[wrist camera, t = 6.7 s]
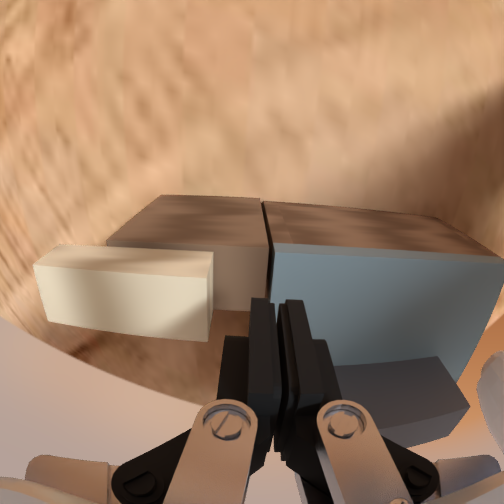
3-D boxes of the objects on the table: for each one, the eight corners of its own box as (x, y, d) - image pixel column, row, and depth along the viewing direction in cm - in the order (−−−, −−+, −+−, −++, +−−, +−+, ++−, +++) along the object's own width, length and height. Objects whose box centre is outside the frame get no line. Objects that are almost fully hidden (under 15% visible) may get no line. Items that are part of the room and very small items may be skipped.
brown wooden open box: (437, 215, 24) (511, 261, 14) (399, 342, 29) (438, 410, 19) (161, 194, 23) (106, 240, 13) (170, 340, 28) (146, 422, 19)
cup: (427, 345, 29) (510, 486, 10) (412, 306, 27) (521, 470, 8) (473, 310, 28) (571, 430, 9) (464, 267, 26) (593, 396, 6)
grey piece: (491, 251, 16) (557, 300, 10) (429, 393, 22) (460, 451, 15) (271, 235, 16) (288, 315, 9) (254, 409, 21) (256, 490, 14)
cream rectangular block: (213, 252, 13) (206, 278, 11) (213, 309, 14) (207, 342, 12) (59, 244, 13) (32, 264, 11) (70, 295, 14) (48, 321, 12)
